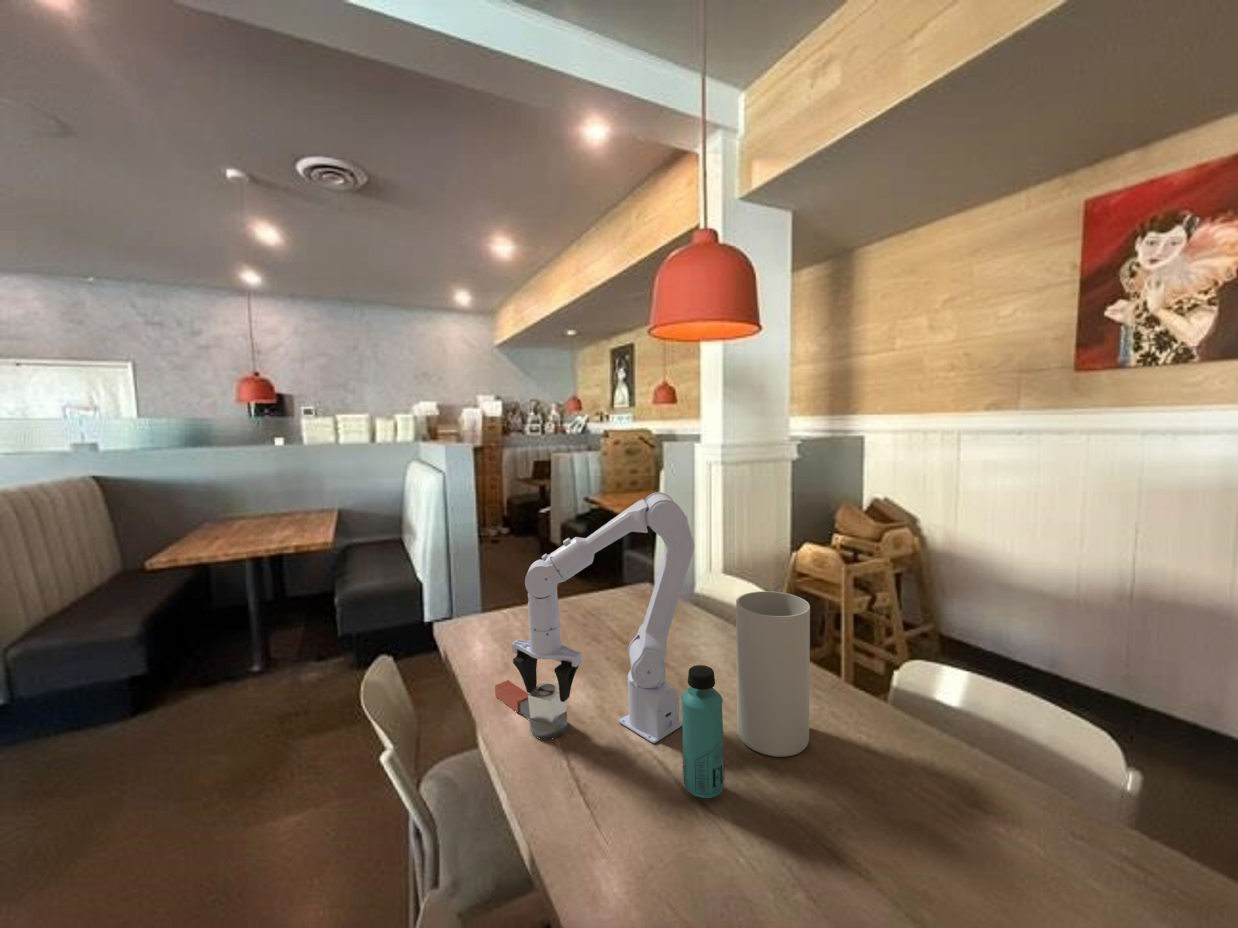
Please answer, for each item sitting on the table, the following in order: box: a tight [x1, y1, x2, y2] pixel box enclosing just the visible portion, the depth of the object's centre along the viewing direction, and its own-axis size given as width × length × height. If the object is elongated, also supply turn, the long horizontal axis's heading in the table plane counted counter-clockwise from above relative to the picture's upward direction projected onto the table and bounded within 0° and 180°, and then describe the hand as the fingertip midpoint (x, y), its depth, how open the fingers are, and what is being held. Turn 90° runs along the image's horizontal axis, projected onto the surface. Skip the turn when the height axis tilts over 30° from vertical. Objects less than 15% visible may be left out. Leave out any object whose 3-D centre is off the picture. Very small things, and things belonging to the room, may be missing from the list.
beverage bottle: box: [680, 664, 726, 799], centre depth 80 cm, size 6×7×20 cm
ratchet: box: [494, 679, 568, 740], centre depth 103 cm, size 21×7×5 cm, turn 43°
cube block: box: [528, 679, 568, 726], centre depth 98 cm, size 5×5×5 cm
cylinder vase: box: [735, 590, 811, 758], centre depth 93 cm, size 12×12×25 cm
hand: (548, 694), depth 98 cm, fingers open, 7 cm apart
